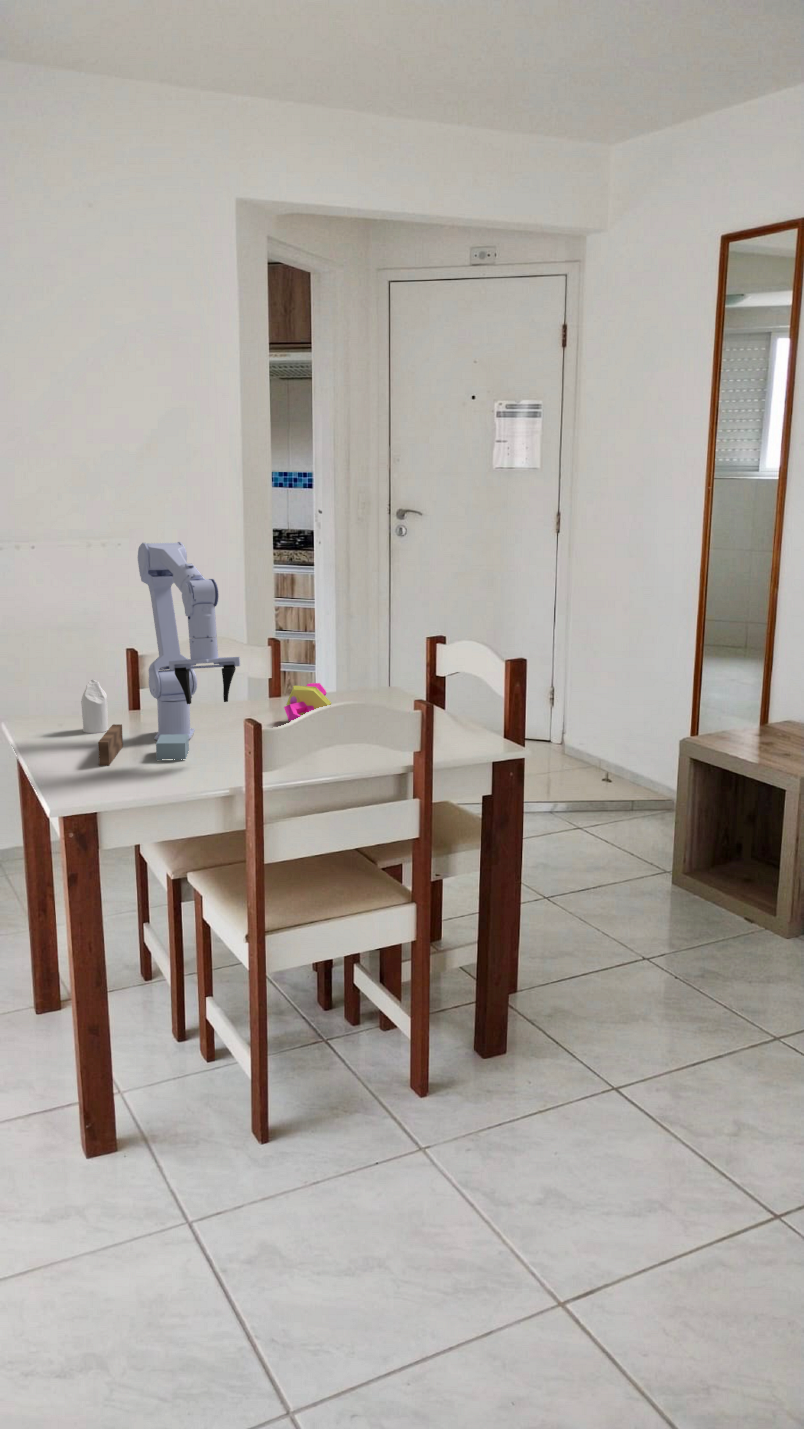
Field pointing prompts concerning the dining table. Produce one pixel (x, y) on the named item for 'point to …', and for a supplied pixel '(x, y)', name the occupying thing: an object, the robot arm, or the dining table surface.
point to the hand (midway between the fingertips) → (207, 702)
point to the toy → (305, 700)
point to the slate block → (172, 746)
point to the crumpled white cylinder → (94, 708)
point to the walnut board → (110, 744)
